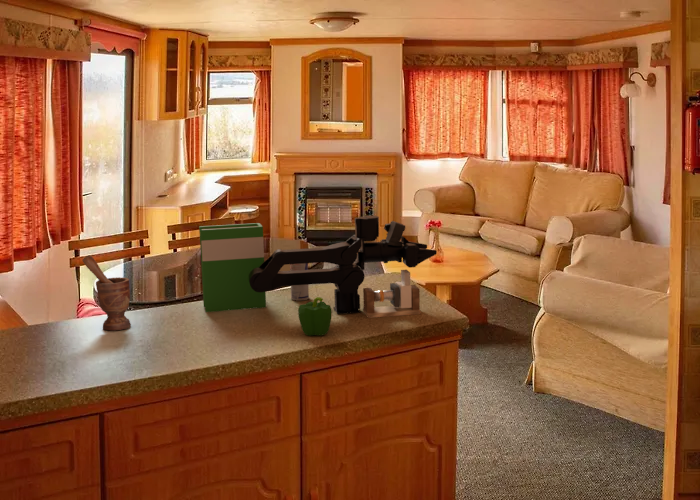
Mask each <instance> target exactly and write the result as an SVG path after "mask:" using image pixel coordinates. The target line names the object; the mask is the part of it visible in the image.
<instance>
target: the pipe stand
mask: <svg viewBox="0 0 700 500" xmlns="http://www.w3.org/2000/svg"><path fill="white" fill-rule="evenodd" d="M410 285H411V302H412V308H400V307H394V306H393V305H386V306H385V305H383V306H375V303H377V302H379V303H383V302H390V301H394V290H390V289H387V290H381V289H380V290H373V289H372V288H371V287H363V290H362V292H363V293H362V294H363V307H362V311H363V313H364V314H365V316H366V317H367V318H380V317H382V318H383V317H394V316H395V317H397V316H408V315H411V316H412V315H420V314H421V307H420V304H421V303H420V302H421V301H420V288H419V287H418V286H417V285H415V284H410ZM399 300H400V289H399Z"/></svg>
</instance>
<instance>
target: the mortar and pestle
mask: <svg viewBox="0 0 700 500" xmlns="http://www.w3.org/2000/svg"><path fill="white" fill-rule="evenodd" d="M82 263H83V264H84V265H85V267H86V268H87V269H88V270H89V271H90V272H91V273H92V274H93V275H94V276H95V277H96V279H98V280H96V281H95V286H96V291H97V292H96V294H97V301H98V305H99V307H100V308H101V310H102V312H104V313H105V314H106V315H107V318H106V319H105V320H104V321H103V323H102V330H104V331H121V330H126V329H127V328H129V329H130V328H131V327H132V326H131V325H132V323H131V320H130V319H129V318H127V316H125V313H126V310H128V308H129V306H130V301H131V290H130V278H128V277H107V276H106V275H105V274H104V272H103V271H102V269H101V267H100V266H99V264H98V262H97V261H96V259H94V257H93V256H92V255H87V256H85V257H84V258H82ZM127 330H128V329H127Z"/></svg>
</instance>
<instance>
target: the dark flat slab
mask: <svg viewBox="0 0 700 500" xmlns="http://www.w3.org/2000/svg"><path fill="white" fill-rule="evenodd" d="M389 290H394V301H389V303H390V304H391V306H394V307H399V287H398V286H397V285H396V284H395V282H393V283H392V282H391V283H389Z"/></svg>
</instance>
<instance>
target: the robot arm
mask: <svg viewBox="0 0 700 500" xmlns="http://www.w3.org/2000/svg"><path fill="white" fill-rule="evenodd" d="M353 222H354V228H355V229H354V231H355V234H353V235H352V236H351V237H349V238H348V239H347V240H346V241H341V242H337V243H333V244H330V245H327V246H323V247H313V248H295V249H281V248H280V249H279V248H278V249H276V250H274V251H273V253H272V254H271V255H270V256H269V257H268V258H267V259H265V260H264V262H263V263H262V264H261V265H260V266H259V267H258V268H254V269H253V270H252V271H251V272H250V273H249V277H248V279H249V283H250V286H251V288H252V289H253V290H254V291H255V292H260V293H261V292H266V293H267V292H269V291H270V292H271V291H274V290H276V289H279V288H281V287H291V286H293V285H308V286H309V285H321V284H322V285H323V284H324V285H325V284H333V285H334V286H335V289H334V292H333V293H334V307H333V310H334V312H335V313H336V315H344V314H355V313H356V314H358V313H360V309H361V296H360V294H359V289H360V286H361V285H362V283H363V282H364V281H365V276H366V275H365V272H364V270H365V263H383V264H388V263H389V262H397V263H403V264H404V266H406V267H407V268H417V266H418V265H419V264H421V263H423V262H424V261H426V260H428V259H430V258H432V257H433V256H436V255H437V252H438V251H437V250H436V249H428V244H426V243H421V242H420V243H419V242H414V241H409V240H408V239H407V238H406V237H404V236H403V234H404V232H405V231H406V225H404V224H403V223H401V222H397V221H394V220H392V221H390V222H389V223H385V225H384V226H383V230H385V232H386V237H385V239H384V238H383V239H381V240H380V241H376V240H377V239H378V238H379V236H380V227H379V225H380V223H379V222H380V217H379V216H377V215H364V216H358V217H354V221H353ZM303 263H308V264H317V263H318V264H319V263H328V264H332V265H335V266H332V267H331V268H330V267H329V268H318V269H316V268H314V269H313V268H312V269H308V270H294V271H290V270H281V269H282V267H284V266H285V265H290V264H303Z"/></svg>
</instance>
